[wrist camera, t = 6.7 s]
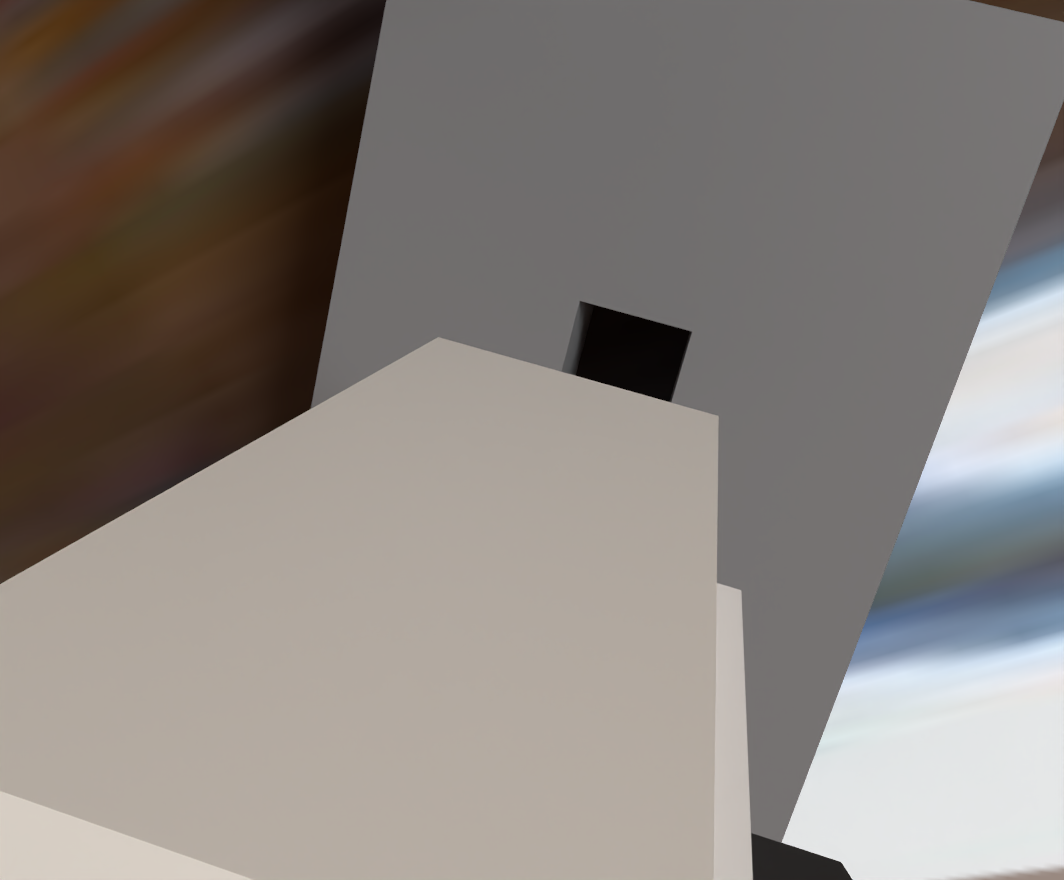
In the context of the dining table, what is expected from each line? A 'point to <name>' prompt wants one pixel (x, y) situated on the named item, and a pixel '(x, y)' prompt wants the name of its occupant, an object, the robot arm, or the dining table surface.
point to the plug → (384, 648)
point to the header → (716, 256)
